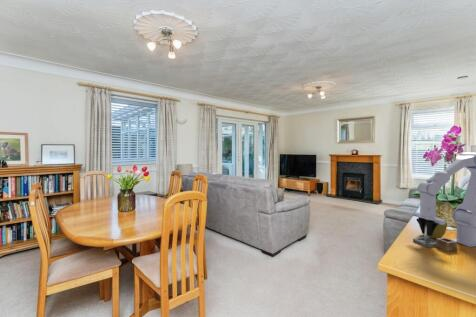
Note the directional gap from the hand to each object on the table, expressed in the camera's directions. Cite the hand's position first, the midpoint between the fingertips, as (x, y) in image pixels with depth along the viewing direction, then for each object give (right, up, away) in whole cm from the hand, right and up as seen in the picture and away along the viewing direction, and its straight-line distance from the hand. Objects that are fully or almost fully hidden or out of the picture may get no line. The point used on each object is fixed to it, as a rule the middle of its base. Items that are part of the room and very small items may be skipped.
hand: (427, 234), depth 110 cm
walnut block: (+4, -5, -6) cm, 8 cm away
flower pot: (+10, -4, +9) cm, 14 cm away
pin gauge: (0, -3, 0) cm, 3 cm away
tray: (0, -4, 0) cm, 4 cm away
